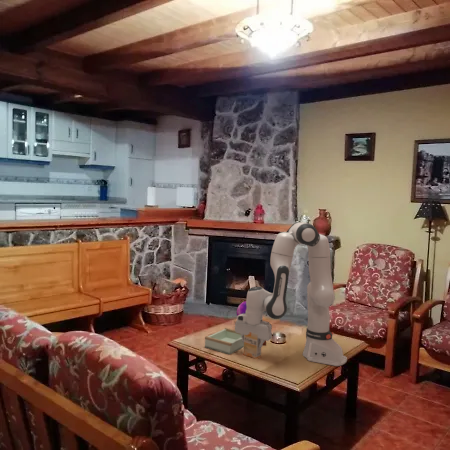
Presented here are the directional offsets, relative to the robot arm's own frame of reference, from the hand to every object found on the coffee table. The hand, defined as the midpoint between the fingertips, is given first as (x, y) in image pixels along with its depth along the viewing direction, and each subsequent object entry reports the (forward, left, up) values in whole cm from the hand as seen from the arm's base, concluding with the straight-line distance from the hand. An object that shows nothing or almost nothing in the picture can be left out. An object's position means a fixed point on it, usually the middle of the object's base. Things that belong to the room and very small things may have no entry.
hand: (252, 344), depth 227 cm
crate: (+18, -4, -6) cm, 19 cm away
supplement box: (0, 0, -6) cm, 6 cm away
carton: (+10, -22, -7) cm, 25 cm away
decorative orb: (+29, -44, -6) cm, 53 cm away
